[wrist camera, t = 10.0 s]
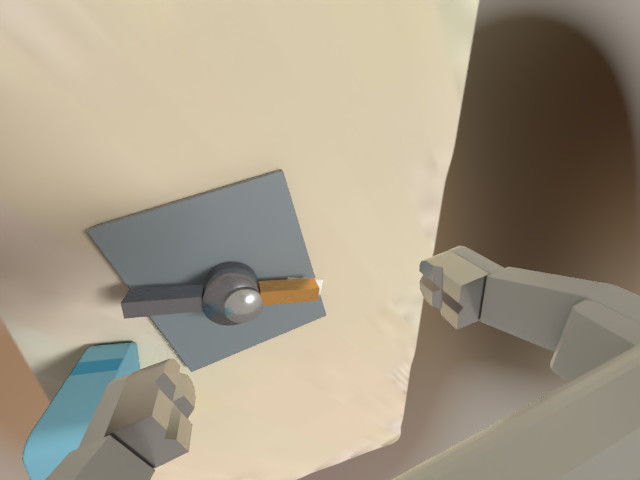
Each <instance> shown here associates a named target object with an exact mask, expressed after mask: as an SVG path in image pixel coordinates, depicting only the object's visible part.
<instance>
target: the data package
mask: <svg viewBox="0 0 640 480" xmlns="http://www.w3.org/2000/svg"><path fill="white" fill-rule="evenodd" d="M138 370H140V365H139V357H138V349H137V345H136V343H134V342H131V343H120V344H108V345H97V346H91V347H89V348H88V349H87V350H86V351H85V353H84V354H83V355H82V357H81V358H80V360H79V361H78V363H77V364H76V366H75V367H74V369H73V370H72V372H71V373H70V375H69V376H68V378H67V379H66V381H65V382H64V384H63V385H62V387H61V388H60V390H59V391H58V393H57V394H56V396H55V397H54V399H53V400H52V402H51V403H50V405H49V406H48V408H47V409H46V411H45V412H44V414H43V415H42V417H41V418H40V420H39V421H38V423H37V424H36V426H35V427H34V428H33V430H32V432H31V433H30V435H29V437H28V439H27V441H26V444H25V447H24V451H23V463H24V466H25V468H26V470H27V473H28V475H29V477H30V480H45V479H46V478H47V477H48V476H49V475H50V474H51V472H52V471H53V470H54V469H55V468H56V467H57V466H58V465H59V464H60V463H61V461H62V460H63V459H64V458H65V457H66V456H67V455H68V454H69V453H70V452H71V451H73V450H75V449H78V447H79V445H80V443H81V440H82V438H83V436H84V434H85V432H86V430H87V428H88V426H89V423H90V421H91V419H92V417H93V415H94V413H95V411H96V408H97V406H98V404H99V402H100V400H101V398H102V396H103V394H104V391H105V389H106V387H107V385H108V384H109V383H110V382H111V381H113V380H114V379H117V378H119V377H122V376H125V375H128V374H131V373H133V372H135V371H138Z"/></svg>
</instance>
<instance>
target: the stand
mask: <svg viewBox="0 0 640 480" xmlns="http://www.w3.org/2000/svg"><path fill="white" fill-rule="evenodd" d="M87 233H88V234H89V235H90V237H91V238H92V239H93V241H94V242H95V243H96V245H97V246H98V247H99V249H100V250H101V251H102V253H103V254H104V255H105V257H106V258H107V259H108V261H109V262H110V263H111V265H112V266H113V267H114V269H115V270H116V271H117V273H118V274H119V276H120V277H121V278H122V280H123V281H124V282H125V284H126V285H127V286H128V288H129V289H141V288H157V287H173V286H190V285H204V288H205V283H206V278H207V276H208V274H209V273H210V271H211V270H212V269H214V268H215V267H216V266H218V265H220V264H223V263H226V262H240V263H243V264H246V265H248V266H249V267H251V268H252V269H253V271H254V272H255V274H256V276H257V280H258V282H259V281H270V280H287V279H303V278H314V279H315V281H316V282H317V284H318V286H319V288H320V289H319V296H318V300H317V301H307V302H296V303H285V304H274V305H263V309H262V312H261V314H260V315H259V316H258V317H257V318H256V319H254V320H252V321H250V322H247V323H241V324H237V325H230V326H226V325H220V324H217V323H214V322H212V321H211V320H209V319H208V318H207V317H206V316H205V314H204V312H203V311H198V312H188V313H177V314H166V315H155V316H150V317H151V319H152V320H153V321H154V323H155V324H156V325H157V327H158V328H159V329H160V331H161V332H162V333H163V335H164V336H165V337H166V339H167V340H168V341H169V343H170V344H171V345H172V347H173V348H174V349H175V351H176V352H177V353H178V355H179V356H180V357H181V359H182V360H183V361H184V363H185V364H186V366H187V367H188V368H189V370H190V371H191V372H193V371H195V370H198V369H200V368H202V367H205V366H207V365H209V364H212V363H214V362H217V361H219V360H221V359H224V358H226V357H229V356H231V355H233V354H236V353H238V352H240V351H243V350H245V349H248V348H250V347H252V346H255V345H257V344H259V343H262V342H264V341H267V340H269V339H271V338H274V337H276V336H278V335H281V334H283V333H286V332H288V331H290V330H293V329H295V328H297V327H300V326H302V325H305V324H307V323H309V322H312V321H314V320H316V319H319V318H321V317H324V316H326V313H325V309H324V306H323V303H322V299H321V296H320V292H321V288H322V284H323V281H324V280H323V279H316V278H315V276H314V273H313V269H312V266H311V263H310V259H309V256H308V253H307V249H306V246H305V243H304V239H303V236H302V233H301V229H300V226H299V223H298V219H297V216H296V213H295V209H294V206H293V203H292V199H291V196H290V193H289V189H288V186H287V183H286V179H285V176H284V173H283V171H282V170H281V169H280V170H276V171H273V172H270V173H266V174H263V175H260V176H256V177H253V178H250V179H247V180H243V181H240V182H237V183H233V184H230V185H227V186H223V187H220V188H217V189H213V190H210V191H207V192H204V193H200V194H197V195H194V196H190V197H187V198H184V199H180V200H177V201H174V202H171V203H167V204H164V205H161V206H157V207H154V208H151V209H147V210H144V211H141V212H137V213H134V214H131V215H128V216H124V217H121V218H118V219H114V220H111V221H108V222H104V223H101V224H98V225H95V226H93V227H91V228H90V229H88V230H87Z"/></svg>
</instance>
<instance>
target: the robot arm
mask: <svg viewBox="0 0 640 480" xmlns="http://www.w3.org/2000/svg"><path fill="white" fill-rule="evenodd" d="M420 272H421V273H422V274H423V276H422V278H421V280H420V290H421V292H422V295H423V297H424V298H425V299H426V301H427V302H428V303H429V304H430V305H431V306H433V307H436V308H439V309H441V315H442V316H443V317H444V318H445V319H446V320H447V321H448V322H449V323H450V324H452V325H453V326H454V327H455V328H456V329H459V328H462V327H464V326H467V325H469V324H471V323H474V322H476V321H479V320H480V322H483V323H485V324H487V325H490V326H492V327H495V328H497V329H500V330H502V331H505V332H507V333H510V334H512V335H515V336H517V337H519V338H522V339H524V340H527V341H529V342H532V343H534V344H536V345H539V346H541V347H544V348H546V349H549V350H551V351H554V352H555V353H554V355H553V358H552V360H551V363H550V367H551V370H552V371H554V372H555V373H556V374H557V375H559V376H560V377H561V378H563V379H564V380H565V381H566V382H567V384H565V385H563V386H561V387H559V388H558V389H556V390H554V391H552V392H550V393H549V394H547V395H545V396H543V397H541V398H539V399H538V400H536V401H534V402H532V403H531V404H528V405H527V406H525V407H523V408H521V409H519V410H518V411H516V412H514V413H512V414H510V415H508V416H507V417H505V418H503V419H501V420H499V421H497V422H496V423H494V424H492V425H490V426H488V427H487V428H485V429H483V430H481V431H479V432H478V433H476V434H474V435H472V436H470V437H468V438H467V439H465V440H463V441H461V442H459V443H457V444H456V445H454V446H452V447H450V448H448V449H447V450H445V451H443V452H441V453H439V454H437V455H436V456H434V457H432V458H430V459H428V460H427V461H425V462H423V463H421V464H419V465H417V466H416V467H414V468H412V469H410V470H408V471H407V472H405V473H403V474H401V475H399V476H397V477H396V478H394V479H392V480H640V296H638V295H636V294H634V293H631V292H629V291H627V290H624V289H622V288H620V287H618V286H615V285H612V284H606V283H600V282H594V281H588V280H582V279H577V278H571V277H565V276H559V275H554V274H547V273H542V272H536V271H531V270H524V269H519V268H513V267H507V268H503V267H501V266H499V265H498V264H496V263H494V262H492V261H490V260H488V259H487V258H485V257H483V256H481V255H479V254H478V253H476V252H474V251H472V250H470V249H468V248H466V247H465V246H457V247H455V248H452V249H450V250H447V251H446V252H443V253H440V254H438V255H436V256H433V257H430V258H428V259H425V260H423V261H421V263H420ZM179 369H180V365H179V364H178V363H177V361H176V360H175V359H168V360H165V361H162V362H160V363H157V364H154V365H151V366H149V367H146V368H143V369H140V370H138V371H135V372H133V373H131V374H128V375H125V376H122V377H119V378H117V379H114V380H113V381H111V382H110V383H109V384H108V385H107V387H106V389H105V391H104V394H103V396H102V398H101V400H100V402H99V404H98V406H97V408H96V411H95V413H94V415H93V417H92V419H91V421H90V423H89V426H88V428H87V430H86V432H85V434H84V436H83V438H82V440H81V443H80V445H79V447H78V449H75V450H73V451H71V452H70V453H69V454H68V455H67V456H66V457H65V458H64V459H63V460H62V461H61V463H60V464H59V465H58V466H57V467H56V468H55V469H54V470H53V471H52V472H51V474H50V475H49V476H48V477H47V478H46V479H45V480H150V479H151V477H152V475H153V473H154V471H155V470H154V468H156V467H159V466H161V465H163V464H165V463H167V462H169V461H171V460H173V459H175V458H177V457H179V456H181V455H183V454H185V453H187V452H189V446H190V438H191V431H192V424H191V422H190V421H189V420H188V417H189V416H190V414H191V413H192V411H193V409H194V407H195V390H194V385H193V383H192V381H191V379H190V378H189V376H188V375H186V374H182V373H179Z"/></svg>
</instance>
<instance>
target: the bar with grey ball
mask: <svg viewBox="0 0 640 480" xmlns="http://www.w3.org/2000/svg"><path fill="white" fill-rule="evenodd" d="M319 289H320V288H319V286H318V284H317V282H316V281H315V279H314V278H303V279H287V280H270V281H259V282H258V280H257V276H256V274H255V272H254V271H253V269H252V268H251V267H249V266H248V265H246V264H243V263H240V262H226V263H223V264H220V265H218V266H216V267H215V268H214V269H212V270H211V271H210V273H209V274H208V276H207V278H206V283H205V288H204V285H190V286H173V287H157V288H141V289H130V290H129V292H128V293H127V295H126V296H125V298H124V299H123V301H122V302H121V306H122V310H123V315H124V318H134V317H144V316H155V315H166V314H177V313H188V312H198V311H203V312H204V314H205V316H206V317H207V318H208V319H209V320H211V321H212V322H214V323H217V324H220V325H226V326H230V325H237V324H241V323H247V322H250V321H252V320H254V319H256V318H257V317H258V316H259V315H260V314H261V312H262V309H263V305H274V304H285V303H296V302H307V301H317V300H318V296H319Z"/></svg>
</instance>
